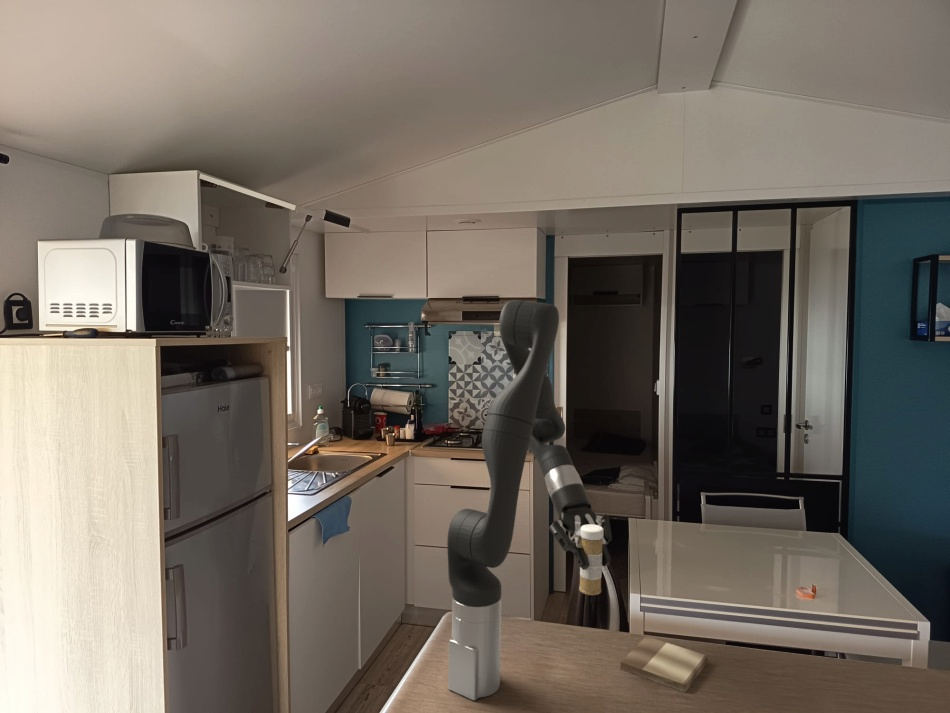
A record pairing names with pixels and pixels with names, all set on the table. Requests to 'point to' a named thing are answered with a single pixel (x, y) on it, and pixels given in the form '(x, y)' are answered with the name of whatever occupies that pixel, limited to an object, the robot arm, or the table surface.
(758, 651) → the table surface
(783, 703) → the table surface
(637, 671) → the board
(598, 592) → the sprinkles bottle
